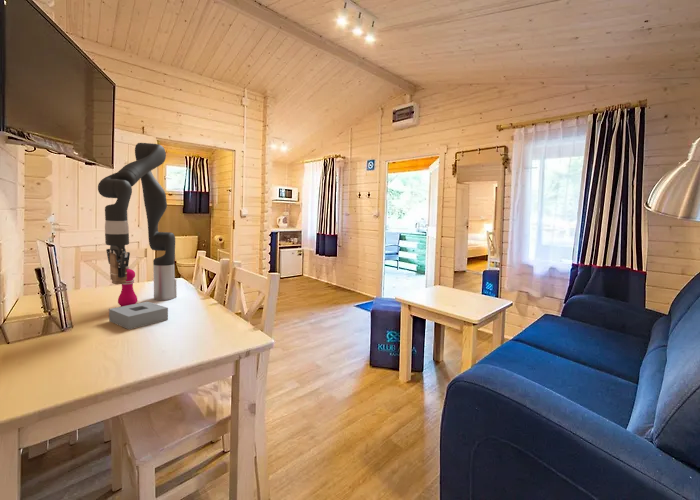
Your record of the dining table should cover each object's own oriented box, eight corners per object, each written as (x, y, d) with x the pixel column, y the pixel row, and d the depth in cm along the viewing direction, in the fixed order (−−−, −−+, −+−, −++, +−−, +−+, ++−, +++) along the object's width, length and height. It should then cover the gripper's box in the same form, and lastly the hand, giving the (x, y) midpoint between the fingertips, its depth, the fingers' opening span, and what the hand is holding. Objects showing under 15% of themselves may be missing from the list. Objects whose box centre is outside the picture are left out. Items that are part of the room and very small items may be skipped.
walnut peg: (122, 281, 136) (121, 251, 135) (127, 283, 134) (126, 252, 133) (110, 283, 133) (109, 252, 131) (115, 285, 131) (114, 253, 129)
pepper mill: (122, 313, 146) (120, 267, 144) (115, 310, 150) (114, 265, 148) (140, 310, 152) (139, 265, 149) (133, 307, 156) (132, 263, 154)
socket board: (148, 312, 149) (147, 301, 148) (167, 319, 141) (167, 307, 141) (109, 321, 136) (108, 309, 136) (129, 329, 129) (128, 316, 128)
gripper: (136, 233, 130) (138, 277, 133) (118, 230, 138) (120, 272, 140) (114, 234, 124) (116, 280, 126) (97, 231, 132) (99, 275, 134)
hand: (118, 276), depth 133 cm, fingers closed on walnut peg, 4 cm apart
